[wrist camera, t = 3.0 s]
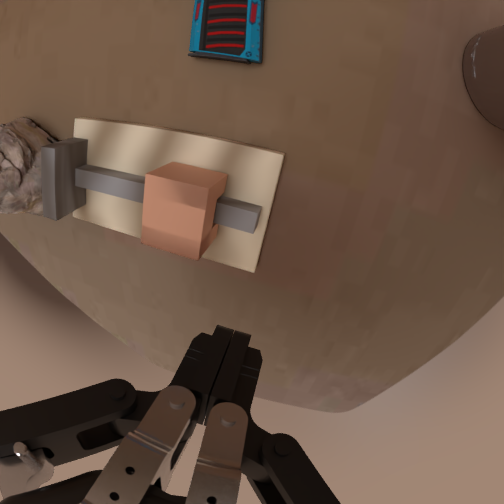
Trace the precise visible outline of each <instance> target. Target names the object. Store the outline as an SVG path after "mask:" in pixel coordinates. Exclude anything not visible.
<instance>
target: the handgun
mask: <svg viewBox="0 0 504 504" xmlns="http://www.w3.org/2000/svg"><path fill="white" fill-rule="evenodd" d="M263 14H264V0H195V5H194V13H193V21H192V30H191V39H190V49H189V51H191V52H194V53H188V56H191V57H200V58H209V59H218V60H227V61H234V62H241V63H248V64H251V62H255V63H262V39H263Z"/></svg>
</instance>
